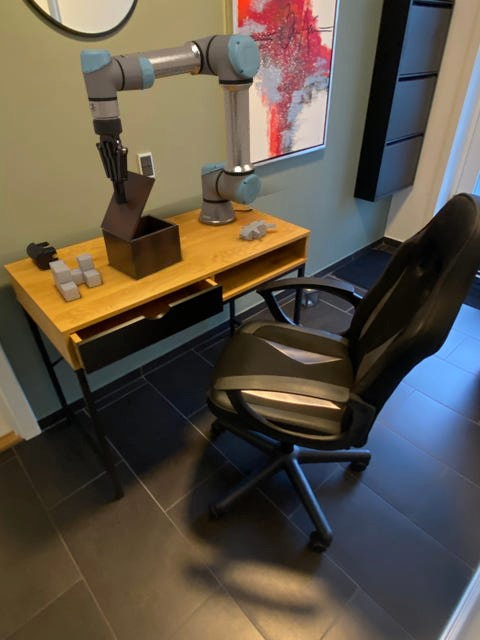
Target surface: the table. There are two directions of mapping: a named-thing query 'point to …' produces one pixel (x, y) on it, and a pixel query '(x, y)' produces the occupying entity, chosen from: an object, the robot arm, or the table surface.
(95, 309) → the table surface
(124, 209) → the chest lid
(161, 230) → the chest
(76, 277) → the grey cube cluster
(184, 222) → the table surface
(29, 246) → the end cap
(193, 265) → the table surface
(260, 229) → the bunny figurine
